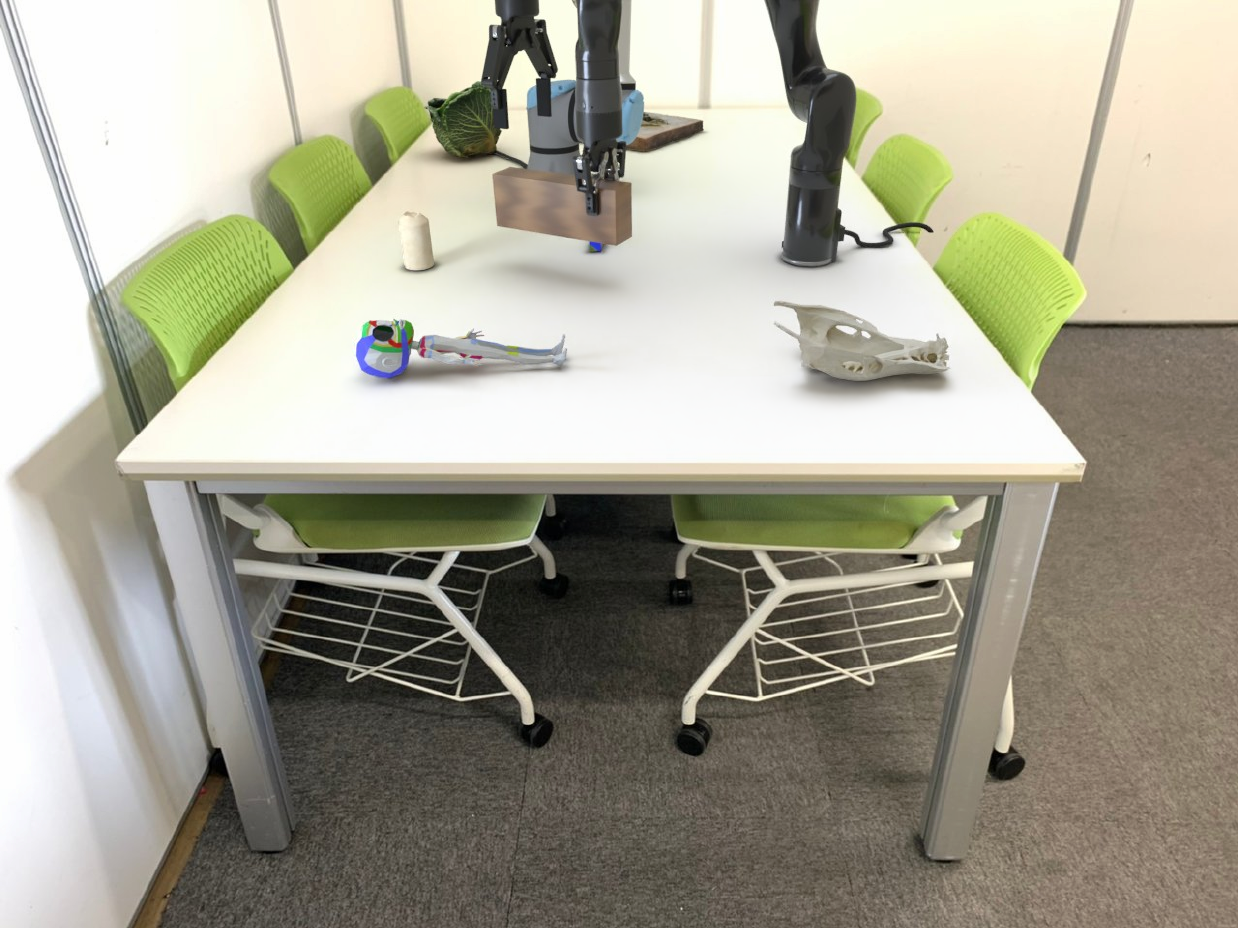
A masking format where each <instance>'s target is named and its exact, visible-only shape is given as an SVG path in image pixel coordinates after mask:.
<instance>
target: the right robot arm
mask: <svg viewBox="0 0 1238 928" xmlns="http://www.w3.org/2000/svg"><path fill="white" fill-rule="evenodd" d="M763 1H764V5H765V7H766V11H767V14H768V18H769V23H770V26H771V29H772V33H773V37H774V39H775V44H776V46H777V51H778V55H779V60H780V67H781V71H782V78H783V85H784V89H785V95H786V100H787V104H788V107H789V110H790V111H791V113H792V114H793V116H794V117H795V118H797V119H798V120H799V121H801V122H803V123H806V128H805V134H804V139H803V143H801V144H799V145H797V146H794V147H793V149H792V150H791V153H790V161H789V175H788V185H787V186H788V187H787V189H788V190H787V198H786V209H785V210H786V211H785V221H784V231H783V241H781V249H782V251H781V259H782V260H783V261H784V262H786V263H788V264H790V265H793V266H794V265H795V266H799V267H820V266H821V267H822V266H824V265H828V264H830V263H832V262H836V261H837V257H838V256H837V255H838V247H839V242H844V241H845V236H849V237H851V238H853V239H854V242H855V244H856V245H857V246H859V247H861V248H870V249H871V248H873V249H875V248H882V247H883V248H884V247H887V246H891V245H892V244H893V243H894V237H893V236H892V235H891V232H894V231H897V230H901V229H906V228H919V229H922V230H924V231H926V232H927V233H929V234H932V233H934V229H933V228H932V227H931V226H929V225H928V224H926V223H922V222H916V221H913V222H911V221H909V222H903V223H899V224H895V225H892V226H888V227H886V228H884V229H883V230H882V236H883V237H884V238H885V239H886V240H884V241H879V242H867V241H862V240H861V238H860V236H859V234H858V233H856V232H855V231H852V230H849V229H846V227H845V225H842V224H841V223H842V212H843V211H842V209H840V208H839V202H840V201H839V200H840V193H841V182H842V174H843V166H844V159H845V157H846V155H847V153H848V151H849V149H850V145H851V142H852V141H851V140H852V134H853V128H854V123H855V122H854V121H855V115H856V110H857V99H858V97H857V87H856V85H855V82H854V80H853V79H852V78H851V76H850V75H848V74H847V73H845V72H842V71H838V70H835V69H830V68H828V67H827V65H826V62H825V60H824V57H823V54H822V50H821V47H820V43H819V38H818V32H817V20H818V14H819V13H818V12H819V8H820V0H763ZM571 2H572V4H573V6H574V7H575V8H576V12H577V14H576V15H577V33H578V35H577V36H578V37H577V40H576V42H575V47H574V53H575V54H574V61H575V81H576V87H575V102H576V124H577V136H578V137H579V138H580V139H582V140H583V141H584V143H583V147H582V154H580V155H581V156H574V157H573V167H574V174H575V180H576V187H577V191H579V192H584V193H585V199H586V213H587V215H589V216H597V215H599V194H598V191H599V185H600V181H601V180H603V179H607V180H615V181H620V178H621V179H623V178H624V177H625V170H626V156H627V149H626V142H625V141H619V140H616V139H617V138H619V137H621V136H622V133H623V130H622V89H621V82H620V58H619V57H620V55H619V36H620V28H621V17H622V0H571ZM582 179H584V183H583V184H582ZM592 179H594V185H593V184H592Z"/></svg>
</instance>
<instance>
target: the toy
mask: <svg viewBox="0 0 1238 928" xmlns="http://www.w3.org/2000/svg"><path fill="white" fill-rule="evenodd" d="M474 331H475V328H472V329H471V330H469V331H468V332H467V333H466V334H465V335H463V336H458V337H449V336H448V337H447V336H442V335H439V334H428V335H423V336H421V338H420V339H419V341H417V340H414V336H415V329H414V326H413V324H412V322H410V321H408V320H407V319H399V320H397V319H395V318H392V320H387V319H379V320H368V321H367V322H365V323H364V324H362V326H361V329H360V331H359V333H358V334H357V338H356V340H355V342H354V354H353V355H354V357H355V359H356V362H357V364H358V366H359V369H360V370H361V372H364V373H366V374H367V375H370V376H373V377H377V378H382V379H383V378H384V379H392V378H394V377H396V376H398V375H400V374H401V375H402V374H403V372H404V371H405V370H406V368H407V367H408V366H409V364H410V357H411V355H412V350H415V351H417V353H418V356H419V357H421V358H422V359H430V360H434V361H438V362H442V363H444V364H449V365H458V364H459V365H461V364H465V365H471V366H477V367H479V368H480V367H481V366H482V365H483V363H482V362H478V361H480V360H482V359H487V360H488V359H489V360H503V361H509V362H514V363H517V364H520V365H528V366H529V365H542V364H550V363H553V364H555V365H557V366H559V367H562V366H563V364H564V362H565V361H566V360H567V357H568V355H567V353H568V348H566V347H565V348H564V345H565V340H566V334H565V333H563V334H562V338H561V340H560V341H559V343H558V344H556V345H555V346H554V347H552V348H533V347H532V348H531V347H523V346H518V345H517V346H516V345H504V344H501V343H498V342H494V341H488V340H482V339H478V338H479V337H480V338H481V337H485V334H480V333H482V332H483V331H482V330H479V331H476V332H474ZM563 349H564V350H563ZM453 353H455V354H457V355H459V357H458V356H455V355H448V354H453ZM445 354H447V355H445Z"/></svg>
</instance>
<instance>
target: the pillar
mask: <svg viewBox="0 0 1238 928" xmlns="http://www.w3.org/2000/svg"><path fill="white" fill-rule="evenodd" d="M588 243H589V244H588V245H589V246H588V247H589V248H588V250H589V252H601V251H602V249H603V247H604V245H605V244H602V243H596V242H590V241H588Z"/></svg>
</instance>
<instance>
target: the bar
mask: <svg viewBox="0 0 1238 928" xmlns="http://www.w3.org/2000/svg"><path fill="white" fill-rule="evenodd" d="M491 175H492V186H493V196H494V206H495V207H494V208H495V217H496V226H497V227H500V228H507V229H511V230H512V229H513V230H519V231H524V232H530V233H535V234H541V235H548V236H554V237H555V236H556V237H561V238H568V239H573V240H577V241H578V240H579V241H585V242H589V241H590V242H596V243H602V244H604V245H610V246H614V247H617V246H619V245H620V244H622V243H624V242H626V241H627V240H629V239H630V238H632V237H633V210H632V209H633V208H632V207H633V206H632V205H633V203H632V202H633V201H632V199H633V198H632V194H633V193H632V182H629V181H621V180H619V181H615V180H607V179H603V180H601V181H600V185H599V191H598V194H599V215H597V216H589V215H587V213H586V199H585V193H584V192H579V191H577V187H576V180H575V175H569V174H561V173H553V172H546V171H538V170H530V169H526V168H521V167H514V166H509V167H507V168H504V169H502V170H499V171H497V172H494V173H492V174H491ZM583 183H584V179H582V184H583ZM592 184H593V185H594V179H592Z"/></svg>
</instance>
